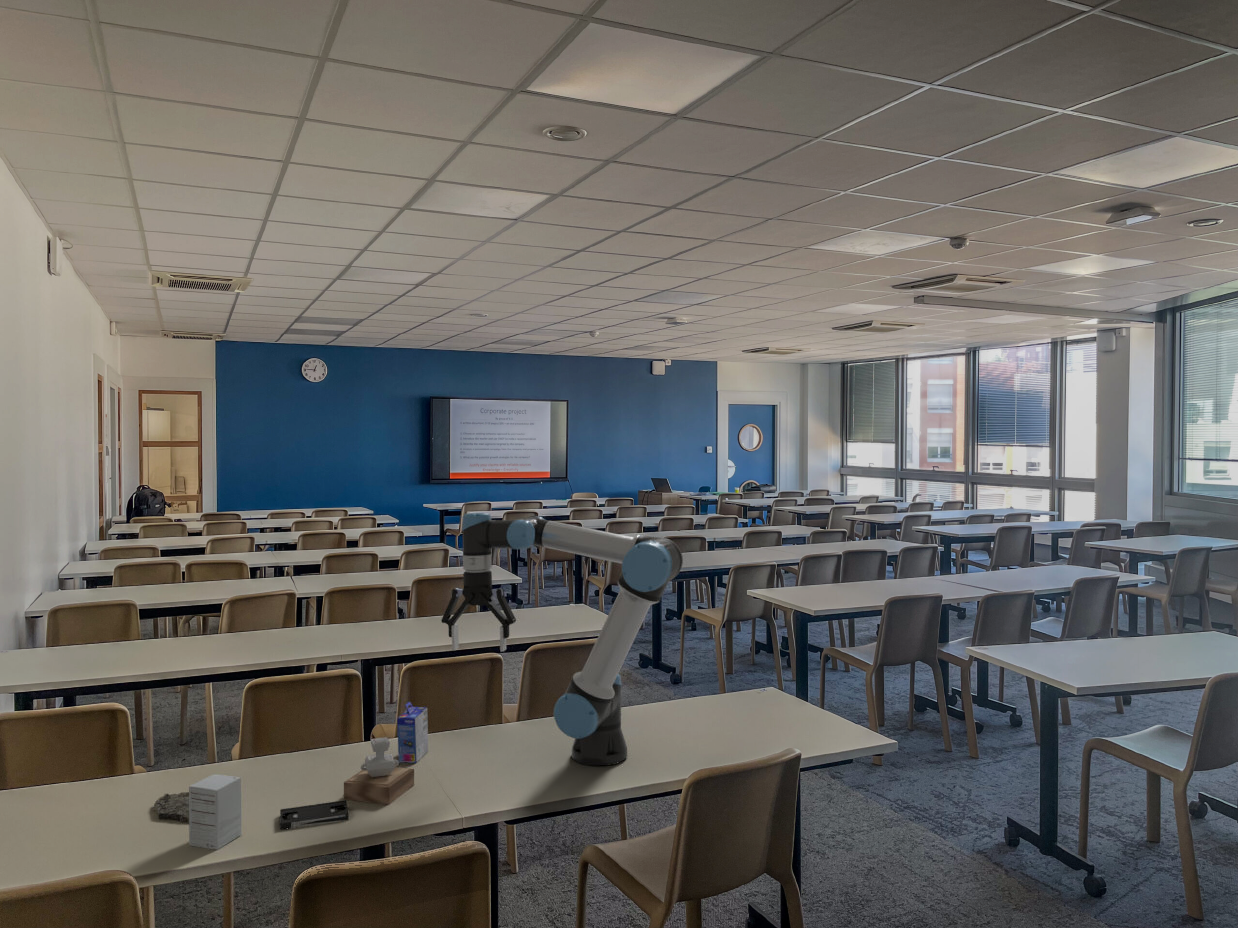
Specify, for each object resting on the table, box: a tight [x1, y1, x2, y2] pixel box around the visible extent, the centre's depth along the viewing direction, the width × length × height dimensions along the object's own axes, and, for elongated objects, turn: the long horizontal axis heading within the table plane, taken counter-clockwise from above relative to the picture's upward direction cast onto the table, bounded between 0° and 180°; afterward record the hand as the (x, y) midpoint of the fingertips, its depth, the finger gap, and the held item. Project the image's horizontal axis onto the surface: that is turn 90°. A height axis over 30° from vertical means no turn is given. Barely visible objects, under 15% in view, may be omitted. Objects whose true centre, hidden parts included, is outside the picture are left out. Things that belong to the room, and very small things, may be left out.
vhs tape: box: [279, 799, 349, 831], centre depth 189 cm, size 14×8×2 cm, turn 112°
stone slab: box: [152, 791, 189, 824], centre depth 193 cm, size 12×17×3 cm
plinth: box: [343, 766, 415, 805], centre depth 203 cm, size 12×12×4 cm
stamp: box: [360, 736, 400, 777], centre depth 203 cm, size 9×7×8 cm
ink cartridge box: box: [396, 701, 429, 764], centre depth 228 cm, size 10×6×14 cm, turn 174°
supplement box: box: [188, 773, 242, 851], centre depth 177 cm, size 7×7×13 cm
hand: (479, 649), depth 224 cm, fingers open, 13 cm apart
